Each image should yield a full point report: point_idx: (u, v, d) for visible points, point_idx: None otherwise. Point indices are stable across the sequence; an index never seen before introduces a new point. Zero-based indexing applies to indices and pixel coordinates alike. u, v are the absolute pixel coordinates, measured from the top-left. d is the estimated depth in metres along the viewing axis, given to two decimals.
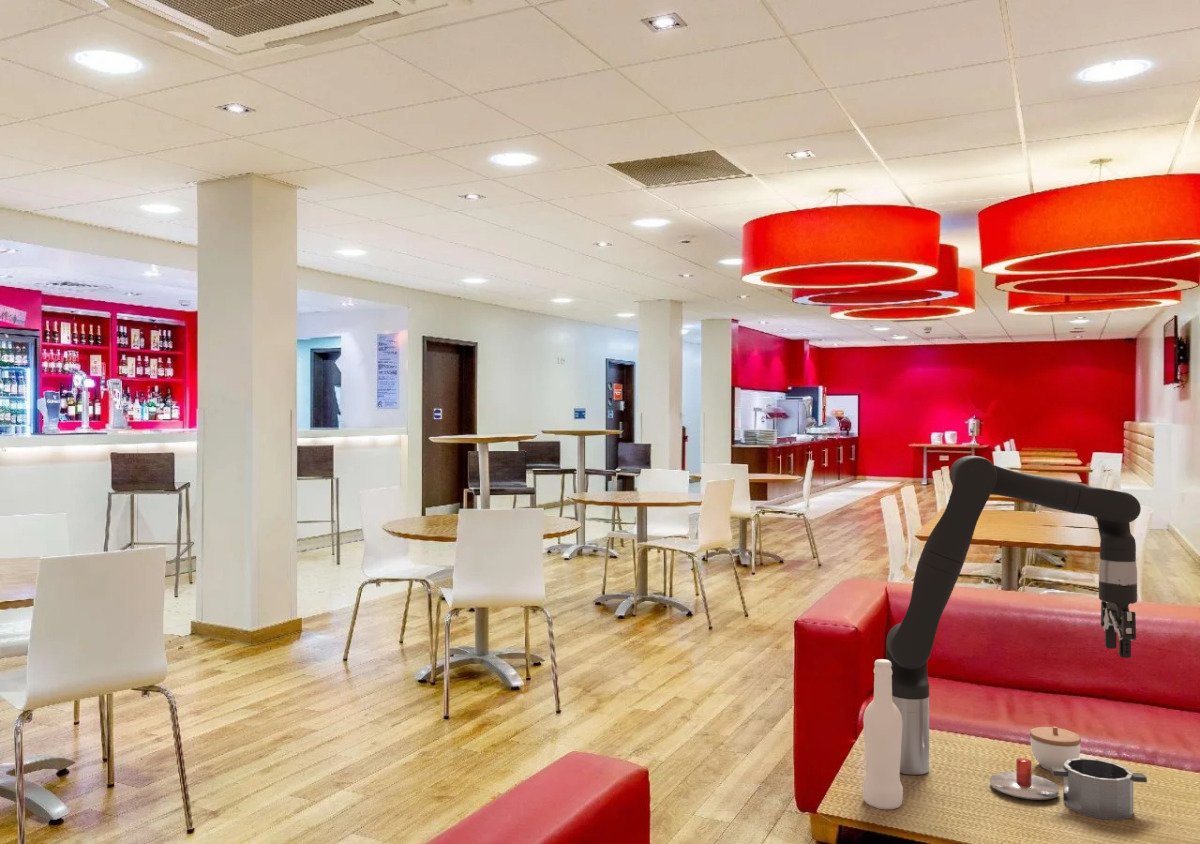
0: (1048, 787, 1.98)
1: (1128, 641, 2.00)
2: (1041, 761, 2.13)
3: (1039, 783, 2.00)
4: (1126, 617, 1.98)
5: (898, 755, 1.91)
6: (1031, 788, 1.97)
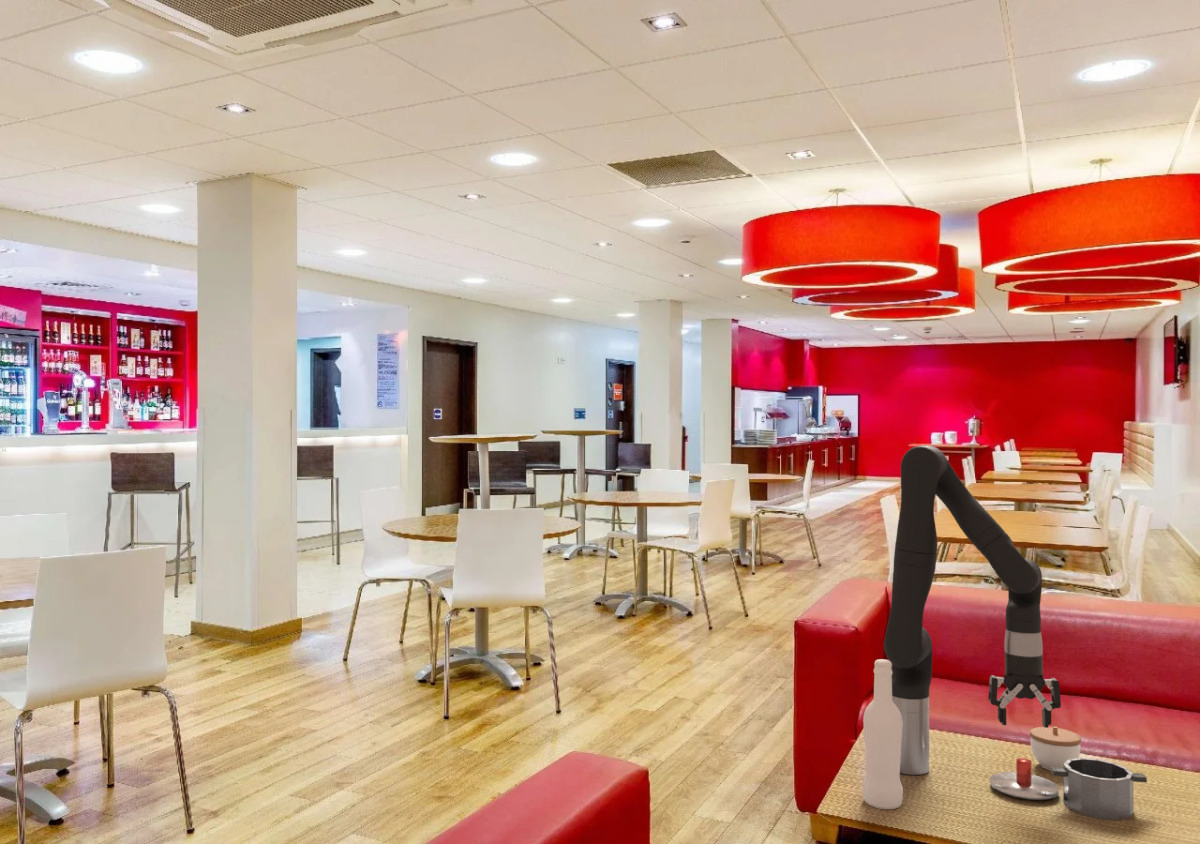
0: (1048, 787, 1.98)
1: None
2: (1041, 761, 2.13)
3: (1039, 783, 2.00)
4: None
5: (898, 755, 1.91)
6: (1031, 788, 1.97)
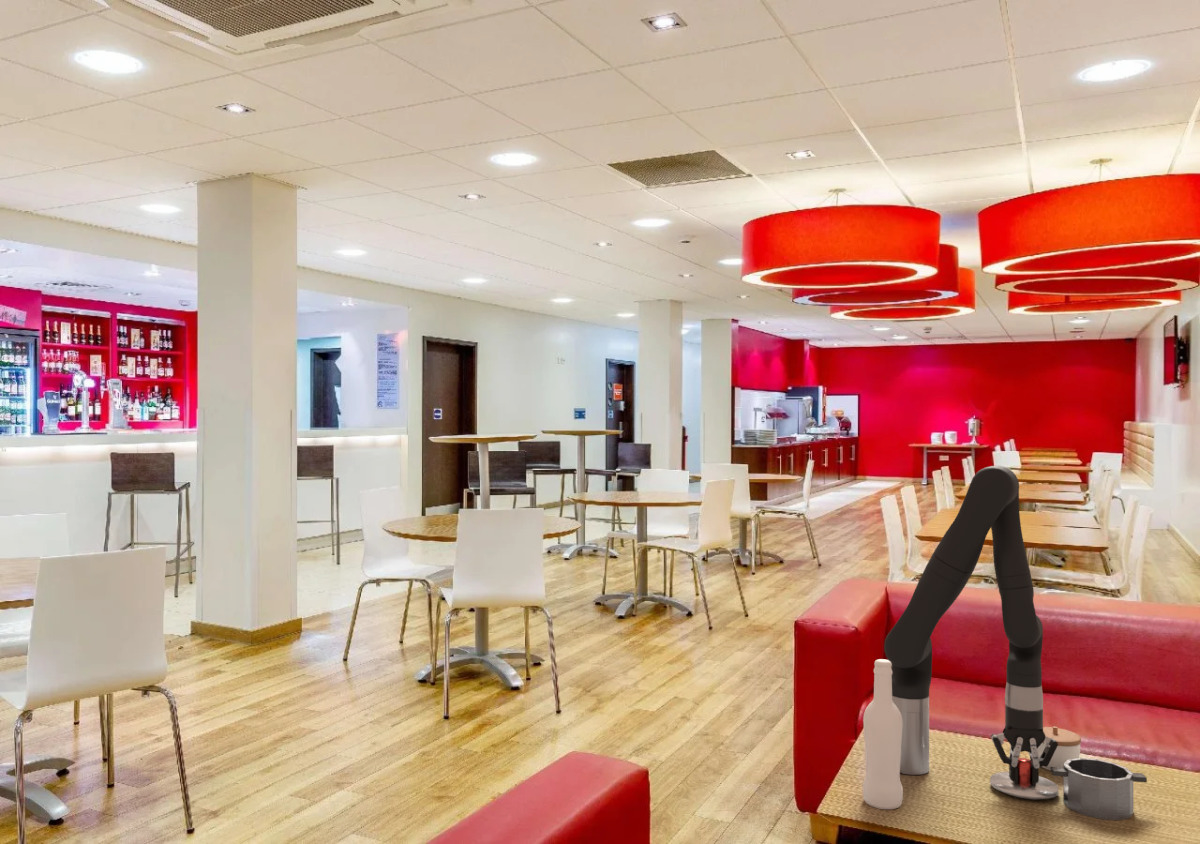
0: (1048, 787, 1.98)
1: None
2: None
3: (1039, 783, 2.00)
4: None
5: (898, 755, 1.91)
6: (1031, 788, 1.97)
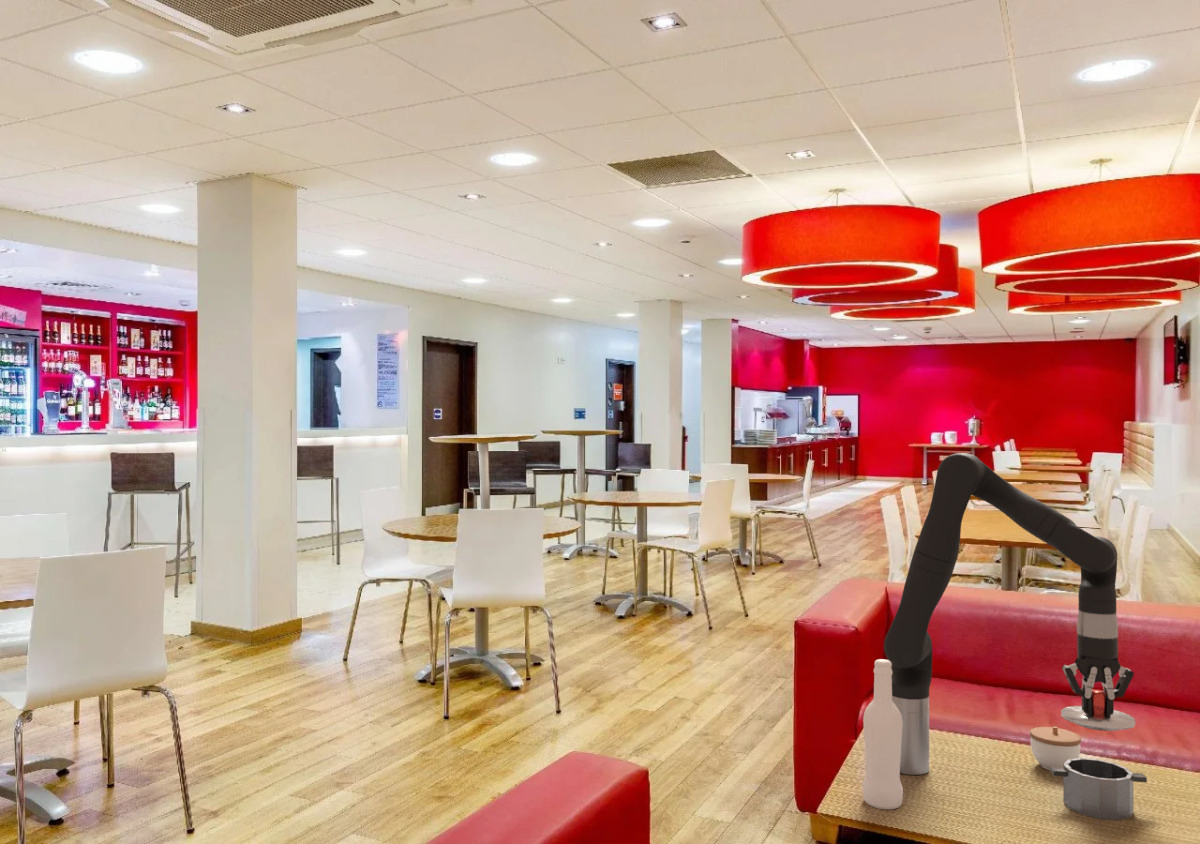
0: (1123, 719, 1.89)
1: None
2: (1041, 761, 2.13)
3: (1114, 715, 1.92)
4: None
5: (898, 755, 1.91)
6: (1106, 719, 1.89)
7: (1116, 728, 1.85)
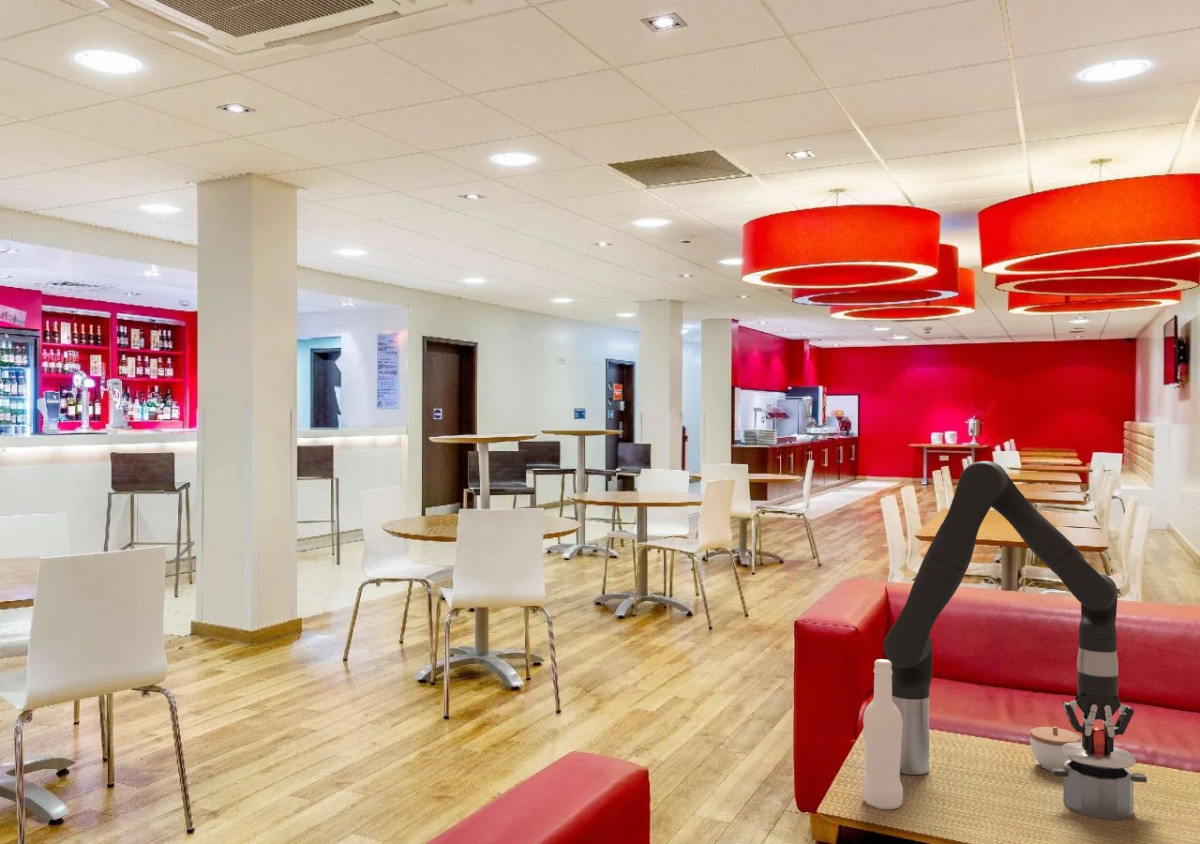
0: (1124, 756, 1.89)
1: None
2: (1041, 761, 2.13)
3: (1114, 752, 1.92)
4: None
5: (898, 755, 1.91)
6: (1106, 757, 1.89)
7: (1116, 767, 1.85)
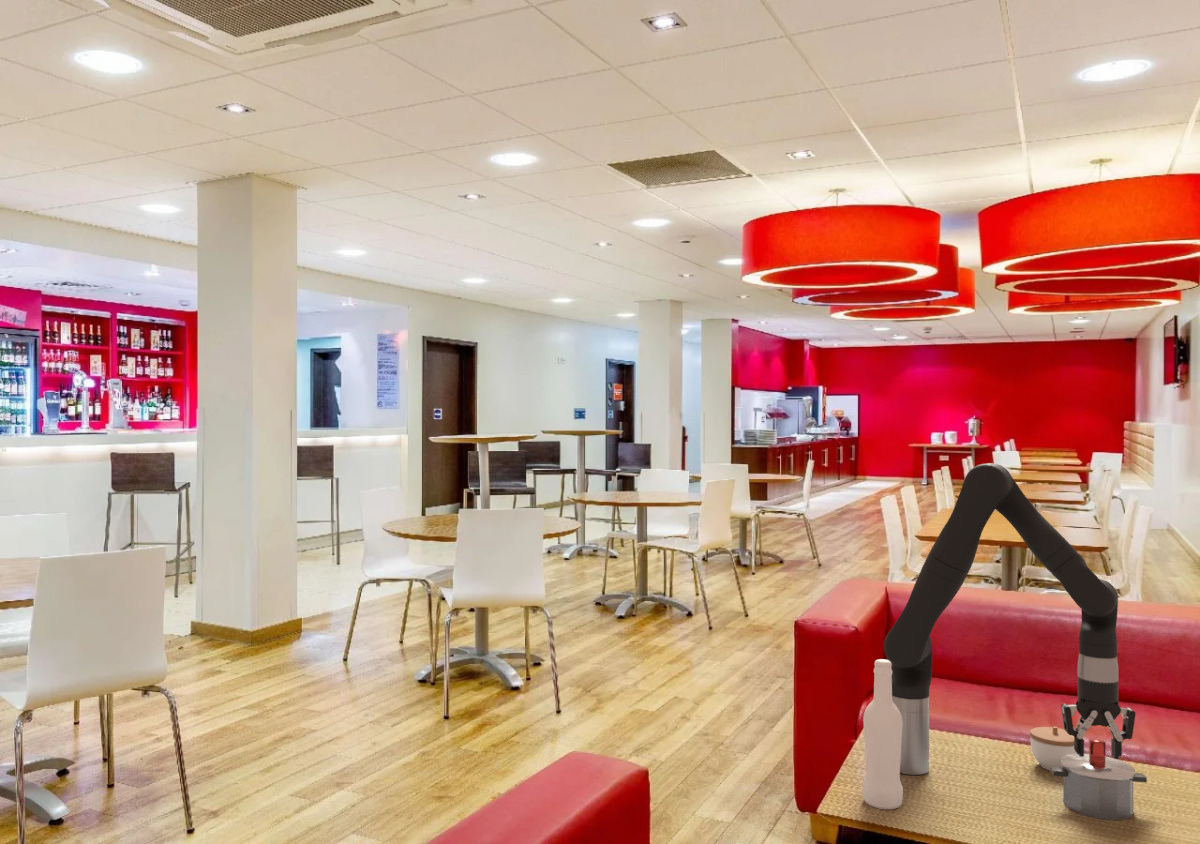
0: (1123, 769, 1.89)
1: None
2: (1041, 761, 2.13)
3: (1113, 764, 1.92)
4: None
5: (898, 755, 1.91)
6: (1106, 769, 1.89)
7: (1116, 779, 1.85)
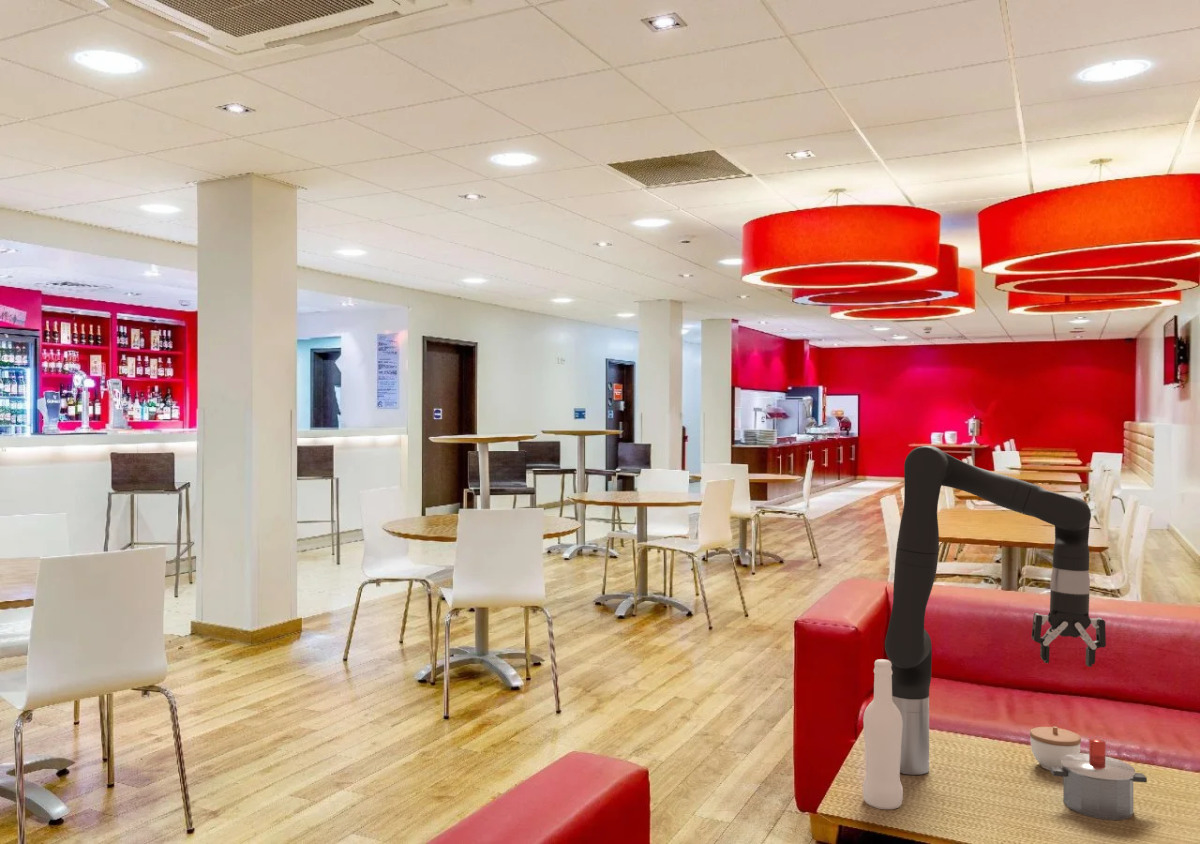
0: (1123, 769, 1.89)
1: None
2: (1041, 761, 2.13)
3: (1113, 764, 1.92)
4: None
5: (898, 755, 1.91)
6: (1106, 769, 1.89)
7: (1116, 779, 1.85)
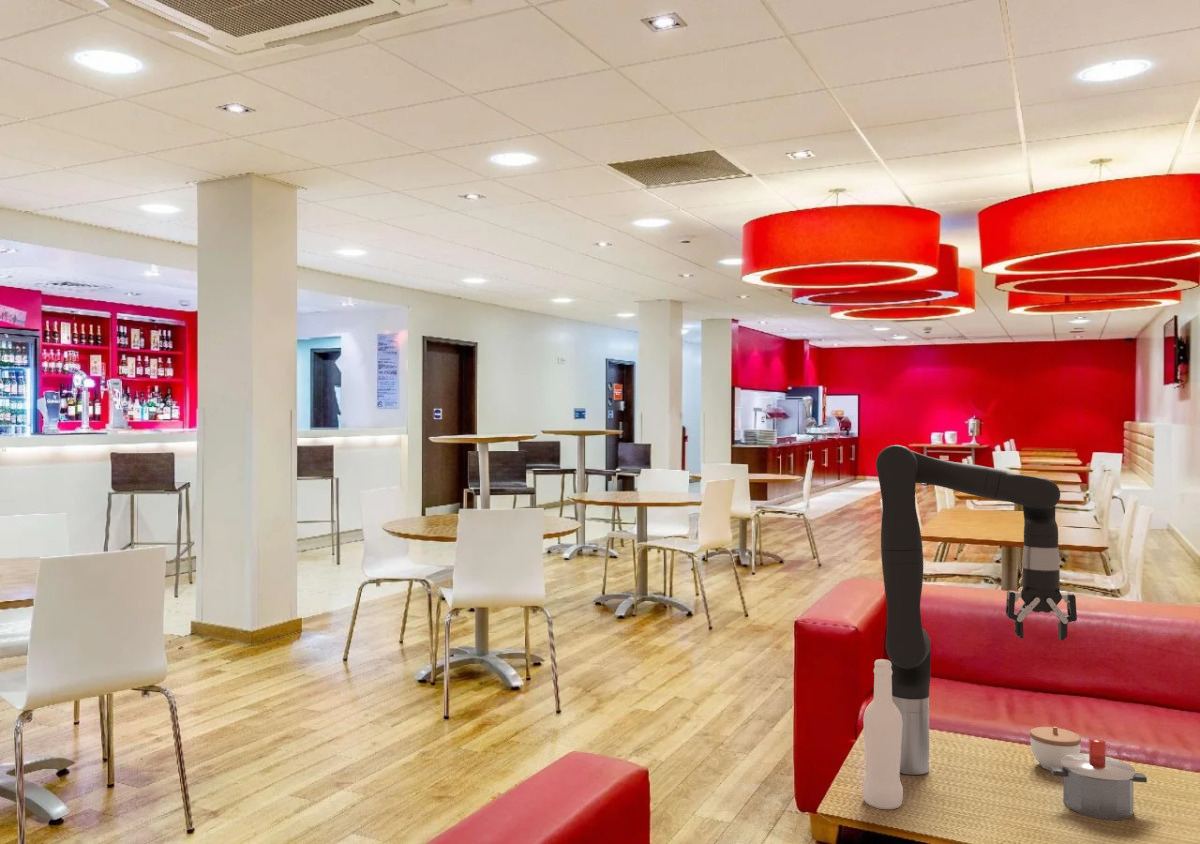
0: (1123, 769, 1.89)
1: None
2: (1041, 761, 2.13)
3: (1113, 764, 1.92)
4: None
5: (898, 755, 1.91)
6: (1106, 769, 1.89)
7: (1116, 779, 1.85)
